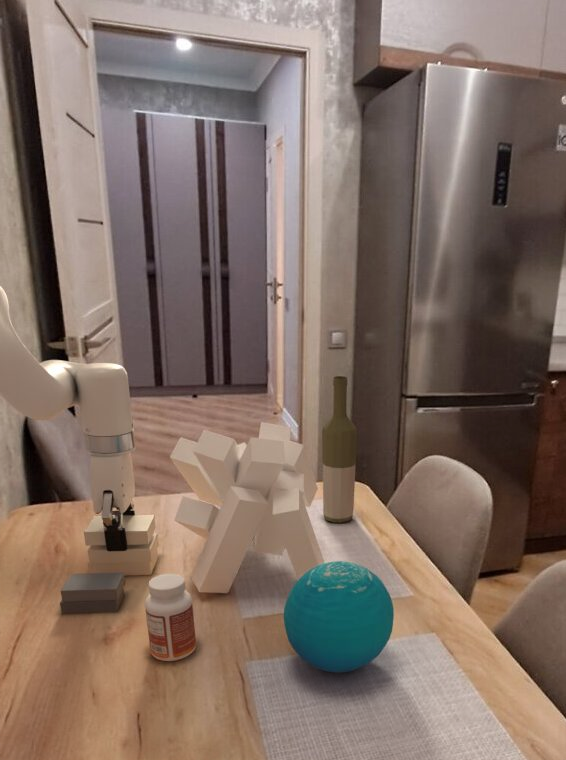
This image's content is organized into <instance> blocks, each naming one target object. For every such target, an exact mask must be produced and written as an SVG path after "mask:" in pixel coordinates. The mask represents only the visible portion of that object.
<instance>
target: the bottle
mask: <svg viewBox="0 0 566 760" xmlns="http://www.w3.org/2000/svg"><path fill="white" fill-rule="evenodd" d="M332 385H333V410H332V411H333V413H332V416H331V417H330V418H329V419H328V421H327V422H326V423H325V424H324V425H323V426H322V431H321V435H322V437H321V439H322V440H321V441H322V443H321V444H322V445H321V446H322V447H321V448H322V453H321V454H322V510H323V511H322V513H323V514H322V515H323V518H324V519H325V520H326V521H328V522H331V523H338V524H339V523H345V522H349V521H352V519H353V517H354V507H355V485H356V484H355V483H356V461H357V438H358V437H357V435H358V431H357V426H356V425H355V424H354V423H353V422H352V420H351V419H350V418H349V416H348V415H347V401H348V400H347V399H348V398H347V397H348V396H347V395H348V393H347V392H348V377H347V376H342V375H337V376H333V381H332Z"/></svg>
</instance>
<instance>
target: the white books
mask: <svg viewBox="0 0 566 760" xmlns="http://www.w3.org/2000/svg"><path fill="white" fill-rule="evenodd" d="M158 547H159V536H158V532H154V533H153V535H152V537H151V540H150V542H149V544H138V545H127V550H126V551H107V549H106V545H93V546H90V547H88V549H87V556H88V563H87V565H88V566H87V567H88V574H91V573H124V576H125V577H126V576H152V574H153V571H154V569H155V566H156V564H157V561H158V559H159V552H158Z"/></svg>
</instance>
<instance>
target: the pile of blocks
mask: <svg viewBox="0 0 566 760" xmlns="http://www.w3.org/2000/svg"><path fill="white" fill-rule="evenodd" d="M291 431H292V426H287V425H286V426H285V425H282V424H281V425H280V424H275V423H270V422H265V421H261V422H260V427H259V433H258V437H252V436H251V437H250V438H249V440H248V442H247V443H246V442H242V443H239V444H237V441H236V439H235V438H233V437H230V436H226V435H223V434H220V433H217V432H214V431H210V430H208V429H203V431H202V432H201V435H200V437H199V438H198V440H197V441H194V440H191V439H187V438H185V437H181V436H180V437H179V439H178V441H177V443H176V445H175V447H174V449H173V450H172V452H171V454H170V456H169V459H170V460H171V461H172V463H173V464H174V466H175V467H176V469H177V470H178V472H179V473H180V474H181V475H182V477H183V478H184V480H185V481H186V483H187V484H188V485H189V487H190V489H192V491H193V493H194V494H195V495H196V496H197V497H196V498H198V499H199V500H198V499H194V498H191V497H187V496H184V495H182V497H181V499H180V502H179V505H178V508H177V511H176V514H175V517H174V519H173V522H176V523H178V524H179V525H181V526H182V527H184V528H186V529H188V530H190V531H191V532H192V533H194V534H196V535H198V536H200V537H201V538H203V539H205V542H204V545H203V547H202V550H201V552H200V554H199V557H198V559H197V561H196V564H195V566H194V568H193V570H192V573H191V575H190V578H191V580H192V582H193V583H194V585H195V587H196V590H197V591H198V592H199V593H214V594H229V592H230V590H231V587H232V585H233V583H234V581H235V579H236V576H237V574H238V572H239V570H240V568H241V566H242V563H243V561H244V559H245V557H246V555H247V552H248V550H249V548H250V546H251V544H252V542H253V552H254V553H259V554H260V553H261V554H268V555H276V556H283V554H284V552H285V550H286V553H287V555H288V558H289V561H290V563H291V565H292V568H293V571H294V574H295V576H296V578H297V581H298V580H299V579H300V578H301V577H302V576H303V575H304V574H305V573H306V572H307V571H309V570H311V569H312V568H314V567H316V566H319V565H321V564H324V563H325V560H324V557H323V554H322V551H321V548H320V546H319V542H318V539H317V537H316V533H315V530H314V528H313V525H312V521H311V519H310V516H309V513H308V510H307V508H311V505H312V503H313V501H314V499H315V497H316V494H317V492H318V490H319V488H318V485H317V482H316V479H315V475H314V473H313V469H312V466H311V463H310V459H309V457H308V453H307V450H306V447H305V444H302V443H300V442H299V443H298V442H296V441H292V440H291ZM218 507H220V508H218Z"/></svg>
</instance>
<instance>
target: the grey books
mask: <svg viewBox="0 0 566 760" xmlns="http://www.w3.org/2000/svg"><path fill="white" fill-rule="evenodd" d="M125 585H126V575H125V576H124V573H91V574H89V573H71V574H70V575H69V576H68V579H67V580H66V581H65V583H64V585H63V586H62V587H61V590H60V595H61V600H60V602H59V605H60V612H61V615H75V614H101V613H103V614H104V613H118V611H119V609H120V606H121V604H122V602H123V599H124V597H125Z"/></svg>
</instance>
